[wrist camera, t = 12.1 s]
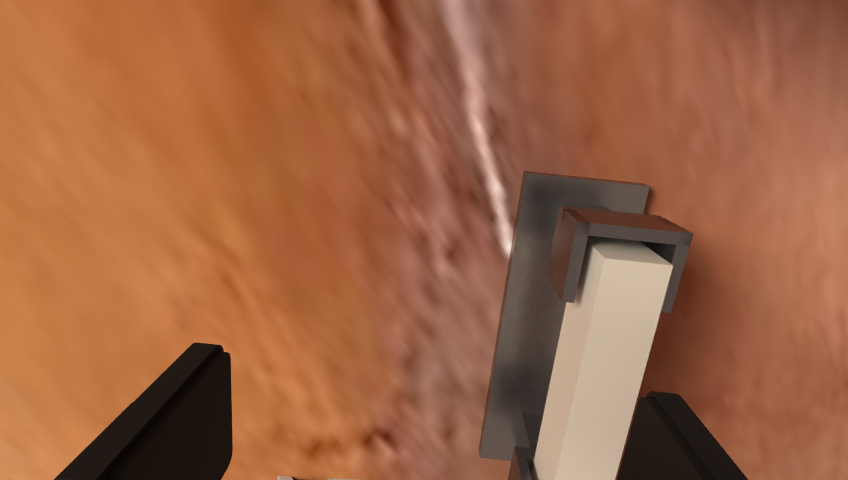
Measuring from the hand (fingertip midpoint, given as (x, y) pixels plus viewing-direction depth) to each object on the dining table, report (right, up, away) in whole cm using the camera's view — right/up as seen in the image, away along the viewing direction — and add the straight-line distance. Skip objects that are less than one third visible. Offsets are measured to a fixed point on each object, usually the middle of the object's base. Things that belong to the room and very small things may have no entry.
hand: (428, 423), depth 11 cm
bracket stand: (+12, -4, +32) cm, 35 cm away
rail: (+12, -6, +25) cm, 28 cm away
